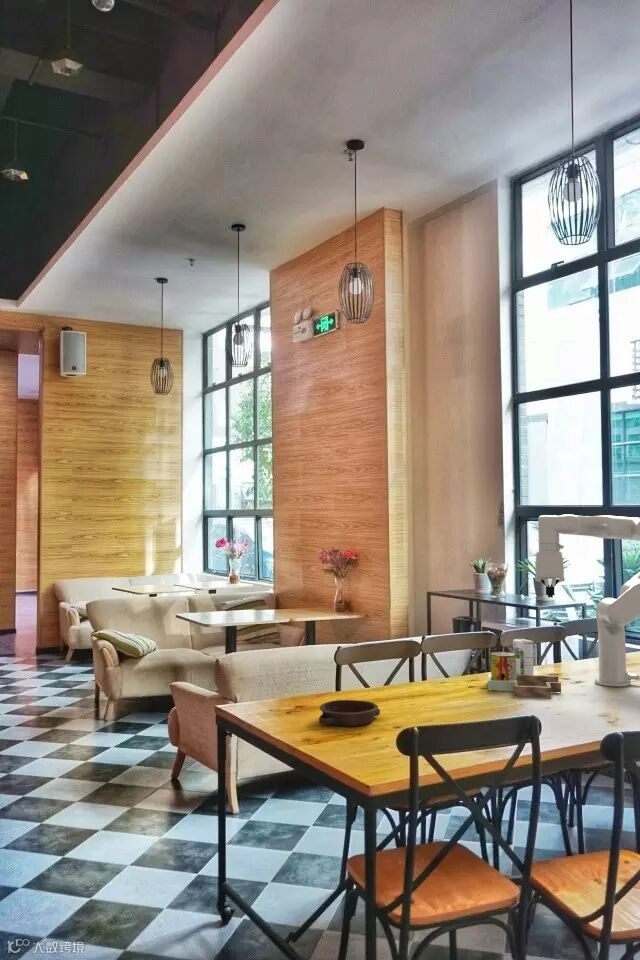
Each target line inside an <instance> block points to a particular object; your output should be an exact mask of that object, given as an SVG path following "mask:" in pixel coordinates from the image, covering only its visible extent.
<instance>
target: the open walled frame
mask: <svg viewBox="0 0 640 960" xmlns="http://www.w3.org/2000/svg"><path fill="white" fill-rule="evenodd" d="M516 680H517V682H515V681H514V691H513V695H514V696H519V698H537V697H552V693H551V692H561V693H562V682H559V676H558V675H540V674H539V675H538V674H537V675H535V674H533V675H516ZM536 685H539V686H536ZM552 698H553V697H552Z"/></svg>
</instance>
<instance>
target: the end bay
mask: <svg viewBox="0 0 640 960" xmlns="http://www.w3.org/2000/svg"><path fill="white" fill-rule="evenodd" d="M515 682H517V681H515ZM488 690H490V691H489V692H491V690H497V691H496V692H514V681H506V680H491V673H490V672H489V673H488V674H487V691H488Z"/></svg>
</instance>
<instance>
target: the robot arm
mask: <svg viewBox="0 0 640 960" xmlns="http://www.w3.org/2000/svg"><path fill="white" fill-rule="evenodd" d="M537 523H538V524H537V525H538V551H536V553H535V554H536V555H535V570H534V571H535V577H534V580H535V582H539V583H542V584H543V585H544V586H545V595H546V596H547V598H553V597H554V596H555V586H556V585H557V584H558V583H562V582H565V581H566V580H565V568H564V559H563V553H562V551H560V550H562V549H564V547H565V546H564V544H560V534H561V535H569V536H583V537H584V536H586V537H595V538H599V539H613V540H628V541H640V517H628V516H619V515H618V516H616V515H593V516H591V515H590V516H588V515H585V516H583V515H575V514H561V515H555V514H553V515H551V514H550V515H548V514H547V515H546V514H544V515H539V517H538V522H537ZM548 579H551V584H549V581H548ZM595 608H596V609H595V616H596V617H595V618H596V625H597V636H598V637H597V638H598V644H597V645H598V677H597V678H595V679H594V683H595V684H597V685H599V686H605V687H614V688H615V687H630V686H631V685H632V682H631V680H633V681H635V680H636V681H640V674H635V673H629V672H628V671H627V657H626V651H627V649H626V631H625V630H626V629H625V626H627V625H629V624H631V623H632V622H633V621H634V620H635V619H636V618H638V617H639V616H640V571H639V572H638V573H637V574H635V575H634V576H633V577H631V578H630V579H629V580H628V581H626V582H625V583H624V584H623V585H621V587H620V589H619V596H618V597H617V598H614V597H605V598H602V599H601V600H600V601H598V603H597V604H596V607H595Z"/></svg>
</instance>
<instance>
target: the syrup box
mask: <svg viewBox="0 0 640 960" xmlns="http://www.w3.org/2000/svg"><path fill="white" fill-rule="evenodd" d="M512 653H515V654H516V675H534V641H533V640H530V639H525V638H515V639H512Z"/></svg>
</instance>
